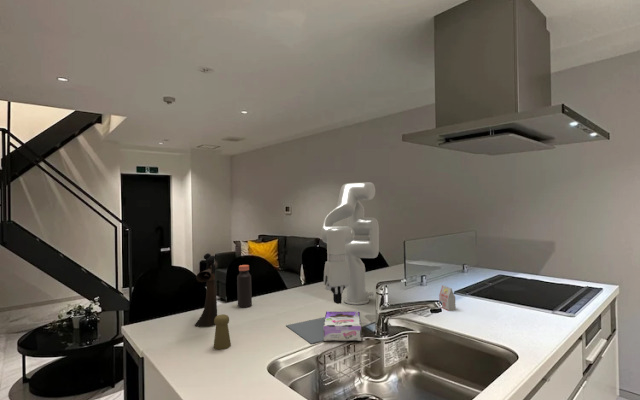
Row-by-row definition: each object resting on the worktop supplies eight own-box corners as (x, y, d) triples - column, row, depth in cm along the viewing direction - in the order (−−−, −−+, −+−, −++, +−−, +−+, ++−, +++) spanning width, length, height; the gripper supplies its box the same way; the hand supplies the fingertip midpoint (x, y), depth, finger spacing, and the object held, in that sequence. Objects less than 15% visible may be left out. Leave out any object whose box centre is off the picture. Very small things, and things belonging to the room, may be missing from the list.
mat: (323, 318, 153) (323, 317, 153) (352, 333, 134) (352, 332, 134) (286, 326, 144) (286, 325, 144) (311, 344, 125) (311, 343, 125)
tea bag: (446, 306, 166) (445, 284, 166) (455, 310, 160) (455, 288, 160) (439, 306, 165) (439, 285, 165) (448, 311, 159) (447, 288, 159)
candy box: (359, 311, 142) (361, 325, 126) (360, 325, 142) (362, 341, 126) (325, 310, 143) (323, 325, 127) (326, 325, 143) (323, 341, 127)
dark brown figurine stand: (214, 336, 135) (212, 258, 135) (187, 339, 133) (186, 259, 133) (221, 312, 166) (219, 248, 166) (200, 313, 164) (198, 249, 164)
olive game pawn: (215, 343, 128) (214, 313, 129) (232, 342, 129) (231, 312, 129) (211, 350, 122) (211, 318, 123) (229, 349, 123) (228, 317, 123)
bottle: (239, 308, 170) (238, 267, 170) (236, 305, 176) (235, 265, 176) (253, 306, 173) (252, 266, 174) (249, 303, 179) (248, 264, 180)
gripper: (346, 255, 151) (347, 298, 151) (316, 258, 144) (317, 303, 143) (356, 257, 145) (357, 302, 144) (325, 261, 137) (326, 308, 137)
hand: (337, 302), depth 144 cm, fingers closed
